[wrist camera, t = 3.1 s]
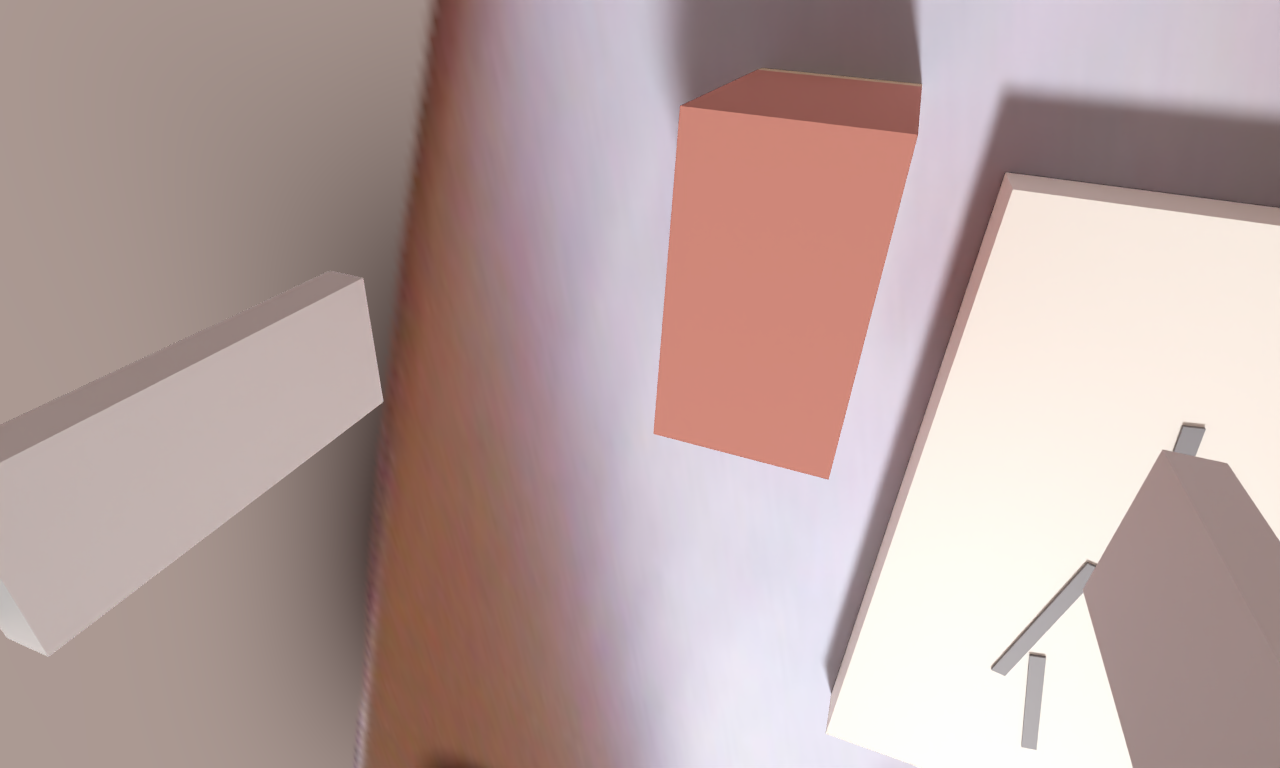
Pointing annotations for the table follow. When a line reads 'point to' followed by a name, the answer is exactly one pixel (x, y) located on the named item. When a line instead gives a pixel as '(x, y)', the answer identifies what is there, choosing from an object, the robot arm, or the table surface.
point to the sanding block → (778, 259)
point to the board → (1058, 465)
